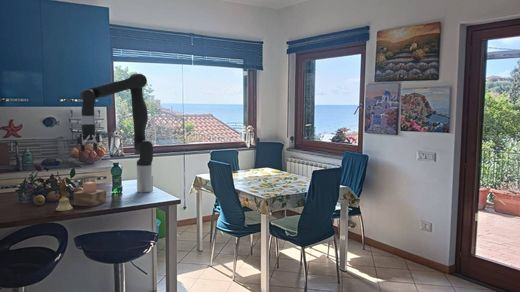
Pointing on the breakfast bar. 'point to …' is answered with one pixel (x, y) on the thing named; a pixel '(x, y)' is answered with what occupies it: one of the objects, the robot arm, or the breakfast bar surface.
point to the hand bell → (63, 199)
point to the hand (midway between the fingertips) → (88, 150)
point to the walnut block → (89, 198)
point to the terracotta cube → (89, 187)
